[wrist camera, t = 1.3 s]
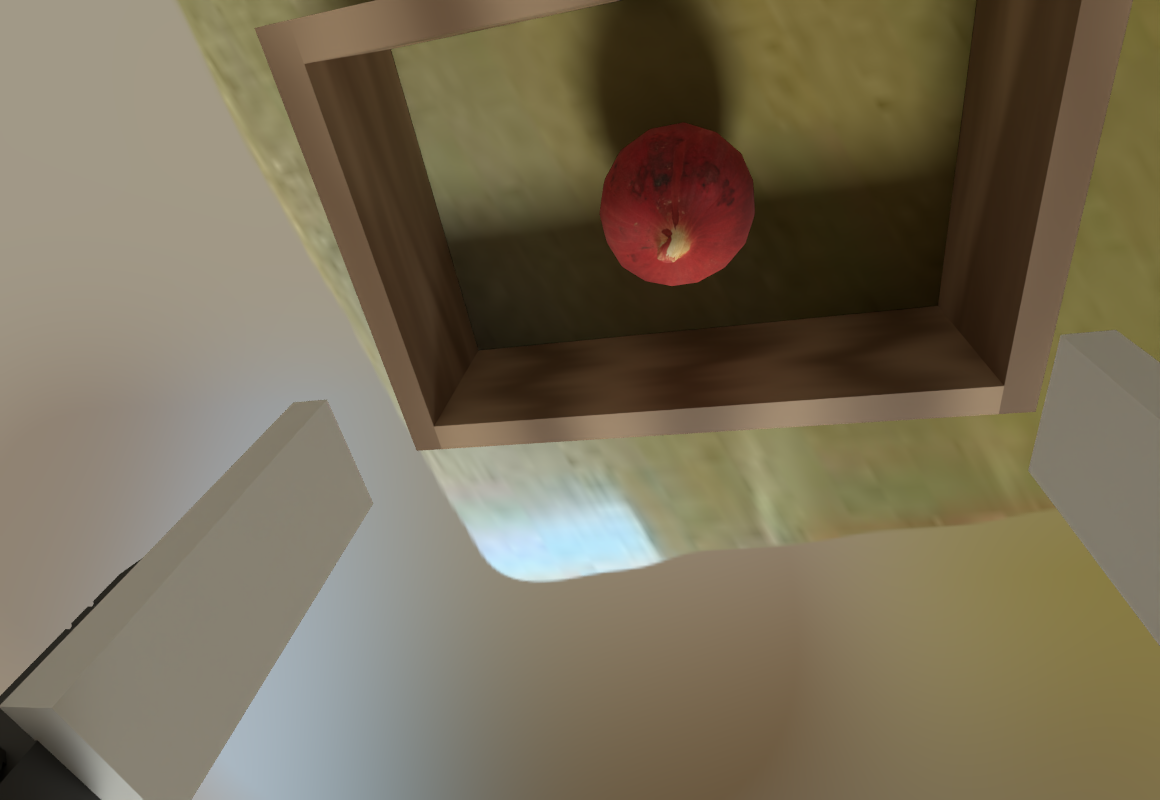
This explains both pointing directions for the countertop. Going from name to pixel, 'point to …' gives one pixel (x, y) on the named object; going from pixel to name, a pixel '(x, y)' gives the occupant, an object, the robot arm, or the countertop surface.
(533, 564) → the countertop surface
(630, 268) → the onion
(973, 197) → the box
